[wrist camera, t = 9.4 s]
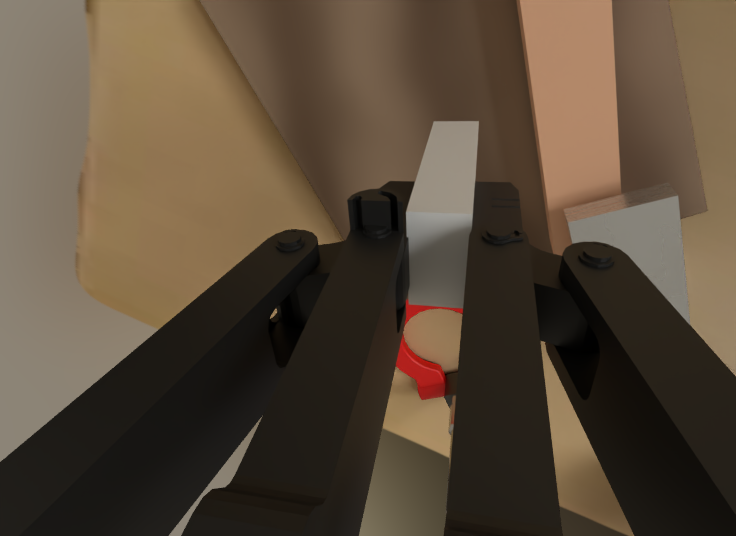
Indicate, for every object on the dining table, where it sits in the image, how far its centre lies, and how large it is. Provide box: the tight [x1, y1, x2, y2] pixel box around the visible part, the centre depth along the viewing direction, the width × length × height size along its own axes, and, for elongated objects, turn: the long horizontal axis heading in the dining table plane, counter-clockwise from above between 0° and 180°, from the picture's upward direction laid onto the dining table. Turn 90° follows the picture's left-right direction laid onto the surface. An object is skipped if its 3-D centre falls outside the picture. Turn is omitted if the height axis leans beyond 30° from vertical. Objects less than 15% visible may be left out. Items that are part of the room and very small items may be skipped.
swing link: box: [516, 0, 621, 256], centre depth 19 cm, size 18×5×4 cm, turn 19°
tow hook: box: [396, 300, 463, 512], centre depth 28 cm, size 8×13×9 cm
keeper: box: [564, 183, 690, 325], centre depth 24 cm, size 10×4×6 cm, turn 23°
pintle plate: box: [200, 0, 708, 300], centre depth 23 cm, size 18×20×2 cm
